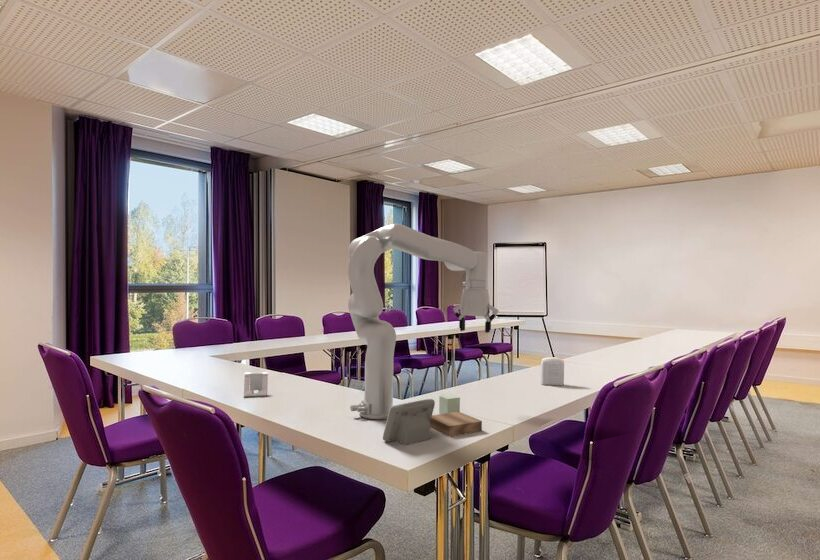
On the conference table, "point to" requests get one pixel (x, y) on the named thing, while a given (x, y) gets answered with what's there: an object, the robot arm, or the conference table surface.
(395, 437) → the digital clock
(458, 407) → the sage block
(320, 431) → the conference table surface
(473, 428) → the wooden square slab
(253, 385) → the portable electronic device stand
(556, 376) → the photo printer
